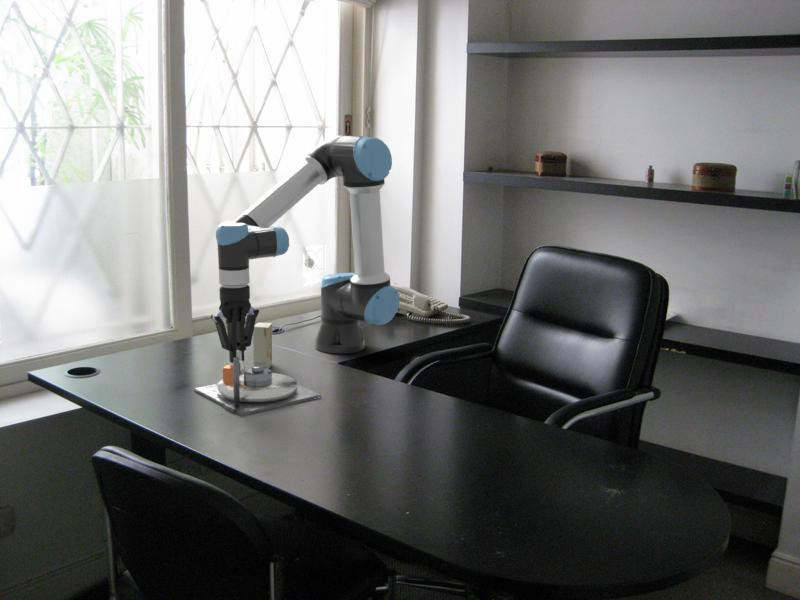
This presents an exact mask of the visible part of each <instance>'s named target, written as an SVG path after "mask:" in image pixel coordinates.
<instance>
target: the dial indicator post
mask: <svg viewBox="0 0 800 600" xmlns="http://www.w3.org/2000/svg"><path fill="white" fill-rule="evenodd" d="M232 365H233V378H234V403H233V404H228V405H225V407H224V408H225V410H226V411H228V412H230V413H232V414H233V415H234V414H236V410H238V409H242V408H247V407H248V406H247V405H245V404H243V403H241V402H240V381H239V376H240V375H243V374H244V372H245V369H246V368H245V363H244V361H242V360H241V359H239V357H233V364H232Z"/></svg>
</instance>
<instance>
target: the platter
mask: <svg viewBox="0 0 800 600" xmlns="http://www.w3.org/2000/svg"><path fill="white" fill-rule="evenodd" d="M239 381H240V401H243V402H266V401H274V400H279V399H283V398H286V397H289V396H291V395H293V394H294V393H295V392H296V391H297V384H298V381H296V379H294V378H293V377H291V376H289V375H286V374H282V373H275V372H272V384H271V385H269V386H266V387H260V388H254V387H248V386H245V385H244V374H243V375H241V376H239ZM216 384H217V392H218V394H219V395H221V396H222V397H224V398H227V399H230V400H234V378H233V364H227V365H225V366H224V367H223V368H222V379H220V380H219V381H218V382H217V383H216Z"/></svg>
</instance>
